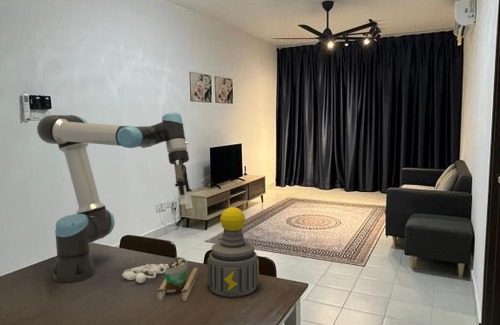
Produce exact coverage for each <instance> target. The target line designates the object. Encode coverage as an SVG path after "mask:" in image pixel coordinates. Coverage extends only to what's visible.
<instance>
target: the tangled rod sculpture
mask: <svg viewBox="0 0 500 325" xmlns="http://www.w3.org/2000/svg"><path fill="white" fill-rule="evenodd" d="M169 266H170V265H169V263H165V264H164V263H160V264H155V263H152V264H151V263H147V264H145V265H141V266H135V267H132V268H129V269H126V270H124V271H123V272H122V274H121V276H122V277H123V279H124V278H125V279H127V280H128V281H134V280H135V281H136V282H137V283H138V284H143V283H144V282H145V281H146V280H147V279H155V278H156V277H157V276H156V275H159V274H165V268H169ZM145 272H147V274H148V275H146V274H145ZM146 278H147V279H146Z"/></svg>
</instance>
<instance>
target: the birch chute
mask: <svg viewBox="0 0 500 325" xmlns="http://www.w3.org/2000/svg"><path fill="white" fill-rule="evenodd" d="M197 278H198V267H193V269H192V270H191V273H190V275H189V277H188V278H187V281H186V282H185V287H184V289H182V290H181V292H180V293H181V301H182V302H186V301H188V297H189V296H190V294H191V291H192V289H193V287H194V284H195V283H196V280H197ZM165 295H167V286H166V278H165V279H164V280H163V282H162V283H161V285H160V286H159V288H157V289H156V299H157V301H162V300H163V299H164V297H165Z"/></svg>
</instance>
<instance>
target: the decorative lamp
mask: <svg viewBox="0 0 500 325" xmlns="http://www.w3.org/2000/svg"><path fill="white" fill-rule="evenodd" d="M219 222H220V225H221V227H222V229H223V234H222V236H221V240H220V241H218V242H216V243H214V244H213V245H212V246H211V252H210V253H209V254H208V255H209V256H208V258H207V261H206V266H207V268H206V269H207V270H206V277H207V284H208V286H209V290H210V291H211V292H212V293H213V294H216V295H218V296H222V297H224V298H225V297H228V298H236V297H239V298H240V297H243V296H247V295H249V294H251V293H253V292H254V291H255V290H256V289H257V286H258V285H259V278H260V277H259V275H260V274H259V273H260V272H259V271H260V270H259V269H260V268H259V267H260V266H259V265H260V264H259V258H258V255H257V253H256V251H255V246H254V244H252V243H251V242H249V241H246V240H245V238H244V234H243V230H242V229H243V227H244V226H245V224H246V216H245V214H244V212H243V210H241V209H240V208H238V207H235V206H231V207H228V208H226V209H224V210H223V212H222V213H221V215H220V221H219Z"/></svg>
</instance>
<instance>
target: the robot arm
mask: <svg viewBox="0 0 500 325" xmlns="http://www.w3.org/2000/svg"><path fill="white" fill-rule="evenodd" d="M161 118H162V119H161V122H159V123H156V124H154V125H148V126H147V125H145V126H133V125H132V126H131V125H117V124H105V123H104V124H103V123H102V124H100V123H90V122H88V121H87V120H86V118H83V117H81V116H79V115H72V114H67V115H66V114H65V115H63V114H61V115H60V114H59V115H58V114H50V115H46V116H44V117H42V119H40V120H39V122H38V124H37V127H36V130H37V135H38V136H39V138H40V140H42V141H43V142H45V143H47V144H51V145H52V144H53V145H57V146H58V150H59V151H61V152H63V153H64V156H65V160H66V164H67V168H68V172H69V175H70V178H71V182H72V187H73V190H74V194H75V197H76V198H75V199H76V201H77V204H78V208H77V211H76V213H75V214H73V213H72V214H71V215H70V214H69V215H65V216H63V217H60V218H59V219H58V220H57V221H56V223H55V230H54V232H55V245H56V258H57V259H56V261H55V264H54V268H53V272H52V279H53V281H55V282H58V283H75V282H80V281H84V280H87V279H90V277H93V276H94V275H95V273H96V269H95V268H96V267H95V264H94V261H93V259H92V257H91V255H90V244H91V243H93V242H95V241H98V240H101V239H104V238H105V237H106V236H108V235H109V234H111V233H112V231H113V229H114V228H115V223H116V221H115V217H114V214H113V213H112V212H110V210H109V209H107V208H106V204H104V203H102V202H101V200H100V197H99V194H98V193H99V192H98V188H97V186H96V181H95V178H94V175H93V170H92V167H91V163H90V162H91V161H90V159H89V155H88V152H87V147H88V146H89V144H92V145H93V144H94V145H95V144H96V145H105V146H106V145H107V146H117V147H118V146H119V147H123V148H126V149H135V148H137V147H138V148H139V147H141V148H142V149H145V148H150V147H153V146H155V145H158V144H161V143H164V142H166V143H165V145H166V151H167V157H168V162H169V164H170V165H174V173H175V174H174V175H175V183H174V186H175V187H176V188H177V191H178V192H177V193H178V197H179V203H180V206H183V205H184V206H185V210H189V209H193V207H194V206H193V202H192V196H191V192H193V190H192V189H191V188H190V184H189V181H188V172H187V166H186V164H184V163H187V162H188V161H189V160H190V158H189V151H188V146H187V145H188V144H189V142H188V141H186V134H185V129H184V122H183V119H182V115H181V114H180V113H178V112H168V113H165V114H163V115H162V116H161Z"/></svg>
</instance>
